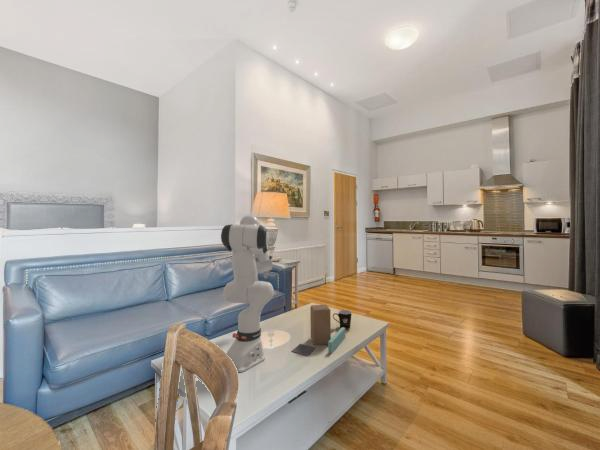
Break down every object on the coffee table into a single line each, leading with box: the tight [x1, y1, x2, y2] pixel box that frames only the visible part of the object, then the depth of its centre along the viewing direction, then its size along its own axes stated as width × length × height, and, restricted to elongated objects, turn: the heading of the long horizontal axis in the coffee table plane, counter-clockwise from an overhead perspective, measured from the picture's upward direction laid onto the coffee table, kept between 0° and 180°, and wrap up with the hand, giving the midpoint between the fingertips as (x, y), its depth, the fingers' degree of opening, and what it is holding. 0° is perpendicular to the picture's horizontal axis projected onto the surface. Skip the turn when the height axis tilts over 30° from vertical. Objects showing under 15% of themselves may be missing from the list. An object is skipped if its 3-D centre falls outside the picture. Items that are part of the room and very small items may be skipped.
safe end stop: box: [327, 327, 346, 355], centre depth 155 cm, size 22×2×6 cm, turn 152°
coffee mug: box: [332, 309, 353, 330], centre depth 182 cm, size 12×9×10 cm
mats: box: [290, 328, 335, 357], centre depth 162 cm, size 38×10×1 cm, turn 152°
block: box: [309, 304, 332, 346], centre depth 160 cm, size 10×10×20 cm
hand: (261, 279), depth 176 cm, fingers open, 8 cm apart
